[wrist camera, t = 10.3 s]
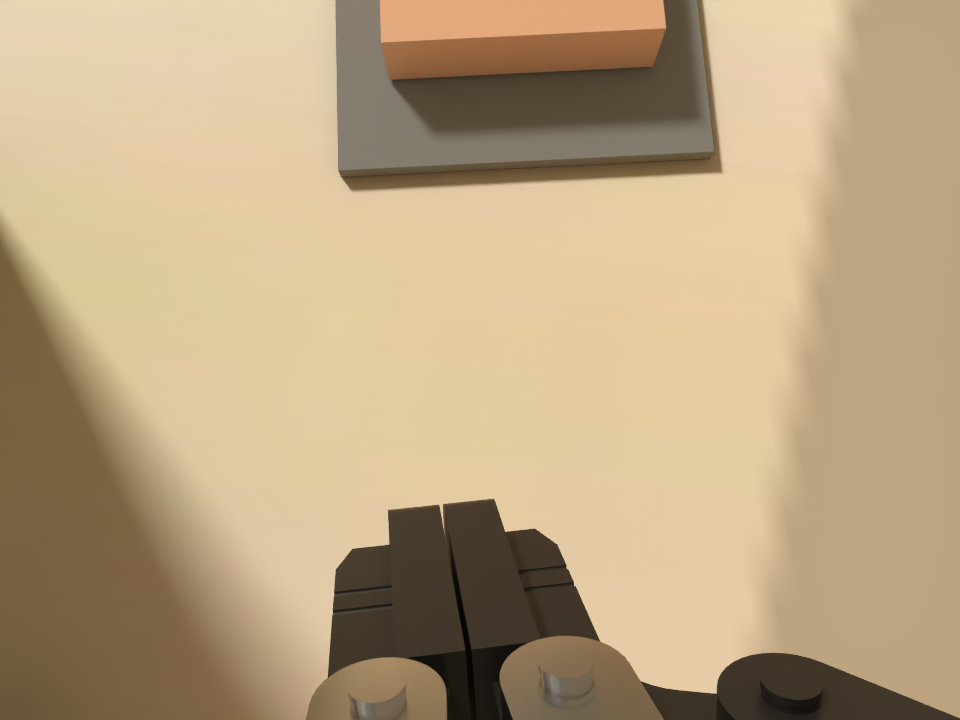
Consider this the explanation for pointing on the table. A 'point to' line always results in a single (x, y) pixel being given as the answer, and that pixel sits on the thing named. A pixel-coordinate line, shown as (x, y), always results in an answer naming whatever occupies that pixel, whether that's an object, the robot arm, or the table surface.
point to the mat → (518, 108)
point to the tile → (517, 36)
